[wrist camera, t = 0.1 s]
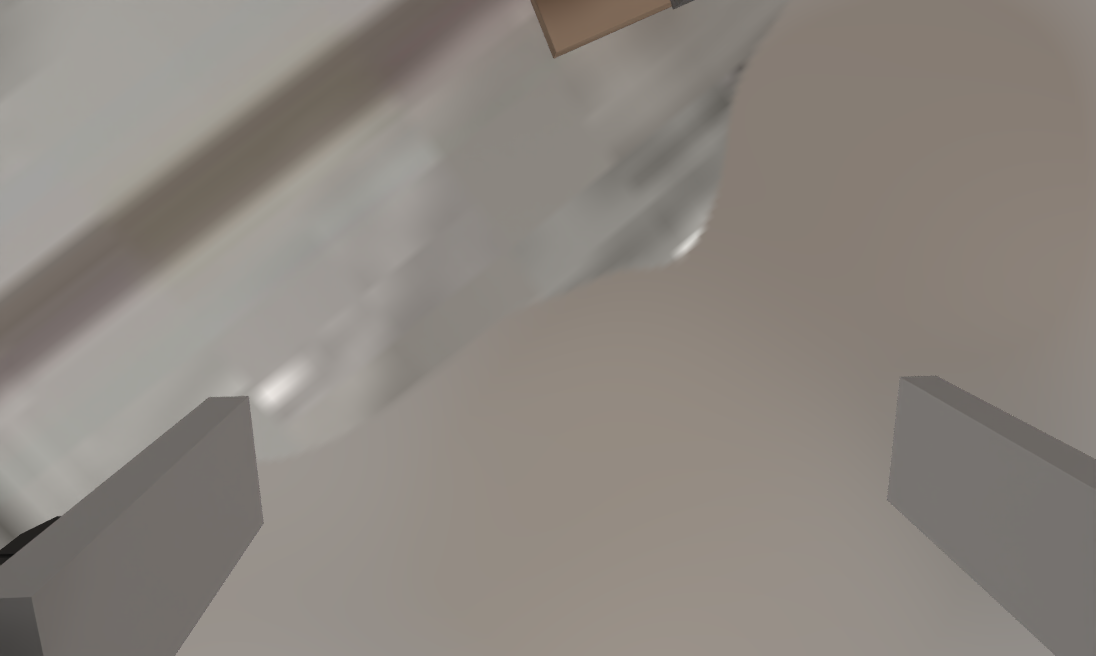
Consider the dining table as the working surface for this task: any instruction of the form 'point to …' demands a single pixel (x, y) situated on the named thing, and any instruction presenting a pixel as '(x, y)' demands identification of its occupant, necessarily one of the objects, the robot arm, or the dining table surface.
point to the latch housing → (589, 19)
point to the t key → (679, 3)
